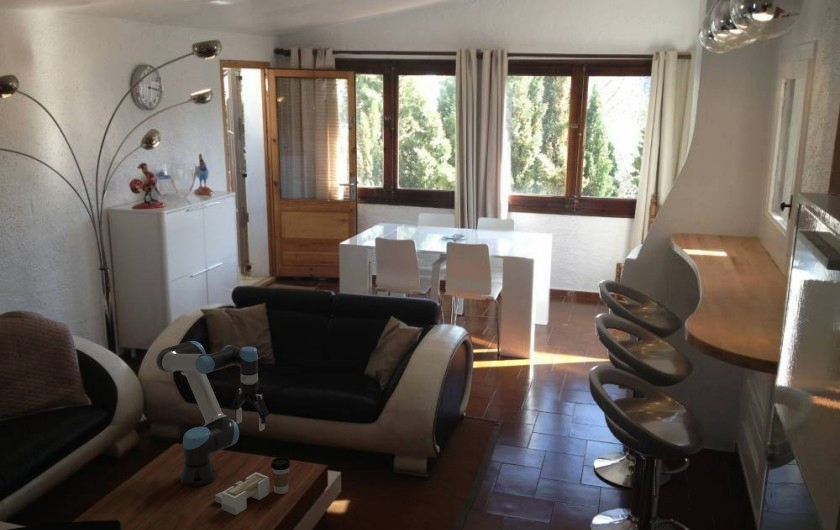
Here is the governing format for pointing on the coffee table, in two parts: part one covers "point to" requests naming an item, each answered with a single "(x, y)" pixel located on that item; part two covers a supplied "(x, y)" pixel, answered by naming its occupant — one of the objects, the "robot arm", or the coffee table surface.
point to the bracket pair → (244, 495)
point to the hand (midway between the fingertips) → (250, 426)
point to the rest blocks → (218, 496)
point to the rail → (247, 487)
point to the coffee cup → (280, 474)
